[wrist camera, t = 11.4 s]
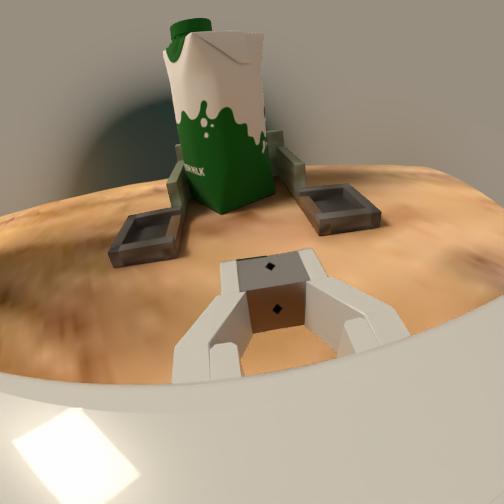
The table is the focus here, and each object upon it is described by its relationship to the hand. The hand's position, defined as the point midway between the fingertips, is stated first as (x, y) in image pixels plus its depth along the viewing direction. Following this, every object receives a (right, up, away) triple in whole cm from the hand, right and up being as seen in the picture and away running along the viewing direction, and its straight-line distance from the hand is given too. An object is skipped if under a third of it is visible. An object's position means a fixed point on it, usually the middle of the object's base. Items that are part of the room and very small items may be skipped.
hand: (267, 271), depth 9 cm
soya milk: (-3, +7, +22) cm, 23 cm away
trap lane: (-2, +6, +19) cm, 20 cm away
